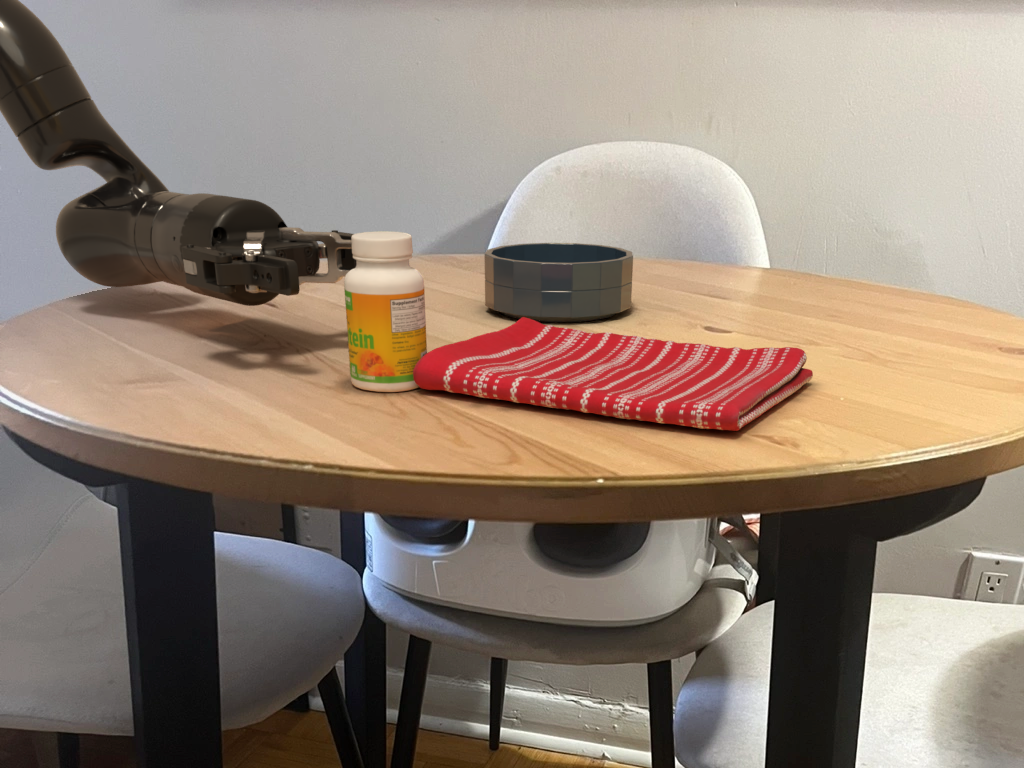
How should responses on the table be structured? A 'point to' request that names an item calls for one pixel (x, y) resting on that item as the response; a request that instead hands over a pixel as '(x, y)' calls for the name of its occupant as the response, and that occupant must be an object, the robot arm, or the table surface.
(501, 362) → the dish towel
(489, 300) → the fruit bowl
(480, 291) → the table surface
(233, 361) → the table surface
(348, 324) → the supplement bottle
